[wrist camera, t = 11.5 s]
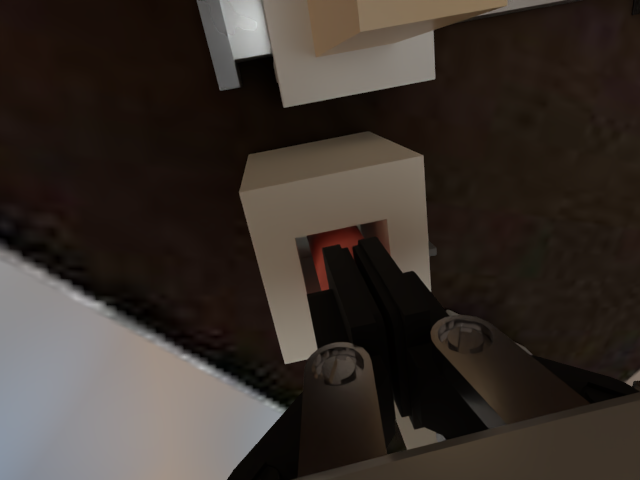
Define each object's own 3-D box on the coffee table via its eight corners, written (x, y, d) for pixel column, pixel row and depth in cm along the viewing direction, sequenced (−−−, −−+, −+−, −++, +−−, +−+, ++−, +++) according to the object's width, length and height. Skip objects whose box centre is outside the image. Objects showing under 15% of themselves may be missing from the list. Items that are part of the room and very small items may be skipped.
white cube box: (248, 154, 18) (239, 192, 12) (382, 128, 18) (444, 151, 12) (279, 278, 21) (285, 364, 14) (394, 253, 21) (450, 326, 15)
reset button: (301, 212, 16) (316, 262, 12) (350, 202, 16) (383, 247, 12) (310, 256, 17) (327, 319, 13) (356, 247, 17) (389, 305, 13)
